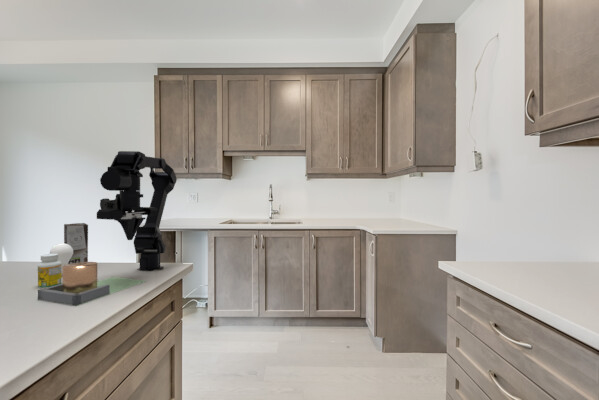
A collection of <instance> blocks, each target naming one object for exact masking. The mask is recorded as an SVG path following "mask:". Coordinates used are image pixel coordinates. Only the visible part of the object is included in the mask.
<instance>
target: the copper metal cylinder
mask: <svg viewBox="0 0 599 400" xmlns="http://www.w3.org/2000/svg"><path fill="white" fill-rule="evenodd" d="M97 281H98V262H96V261H88V262H78V263H72V264H67V265H64V266H63V267H62V292H69V293H75V294H78V293H81V292H84V291H87V290H91V289H94V288H97Z"/></svg>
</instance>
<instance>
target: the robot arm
mask: <svg viewBox="0 0 599 400" xmlns="http://www.w3.org/2000/svg"><path fill="white" fill-rule="evenodd" d="M146 168H149V169H150V172H149V173H148V174H149V175H148V176H149V178H150V179H151V186H152V187H153V194H152V198H151V202H150V205H149V206H141V198H144V194H143V193H141V178H143V177H144V176H143V173H142V172H141V171H140V170H143V169H146ZM154 169H157V170H158V169H159V170H162V171H155V170H154ZM99 181H100V185H101V187H102V188H103V189H104V190H107V191H111V192H112V191H114V192H115V191H116V192H117V191H119V193H116V195H115V199H109V198H102V199H100V201H99V207H100V208H99V209H98V210H97V212H96V220H111V221H112V220H113V221H117V222H118V223H119V224H120V225H121V227H122V229H123V232H124V234H125V237H126V240H127V241H132V240H133V247H134V252H135V254H139V255H140V258H139V268H137V269H136V270H137V271H138V270H139V271H146V272H152V271H156V270H157V271H159V270H162V269H164V266H161V254H164V253H165V252H166V245H165V243H164V241H163V239H162V237H163V235H162V232H161V230H160V226H161V222H162V217H163V213H164V209H165V205H166V202H167V198H168V194H170V193H171V192H172V191H173V190H174V188H175V185H176V183H177V175H176V172H175V170H174V168H172V166H170V165H169V164H168V163H167V161H166V159H165V158H163V157H154V156H153V157H151V156H146V154H145V153H144V152H141V151H139V150H138V151H136V150H135V151H133V150H132V151H131V150H130V151H129V150H128V151H126V150H121V151H120V150H119V151H118V152H117V154H116V155H115V157H114V159H113V160H112V163H111V165H110V166H108V167H107V171H104V173H102V174H101V177H100V178H99ZM143 216H146V217H143ZM144 220H145V223H144V225H143V226H141V225H142V223H143V222H144Z"/></svg>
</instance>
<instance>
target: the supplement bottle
mask: <svg viewBox="0 0 599 400" xmlns="http://www.w3.org/2000/svg"><path fill="white" fill-rule="evenodd" d="M58 258H59V257H58V254H50V253H45V254H41V255H40V261H41V262H39V263H38V264H37V288H39V289H44V288H48V287H51V286H55V285H59V284H62V276H61V262H60V261H58V260H57V259H58Z"/></svg>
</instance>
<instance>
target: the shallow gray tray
mask: <svg viewBox="0 0 599 400" xmlns="http://www.w3.org/2000/svg"><path fill="white" fill-rule="evenodd" d="M107 294H109V295H111V294H110V285H103V286H100V287H97V288H94V289H91V290H87V291H84V292H81V293H78V294H75V293H69V292H62V284H59V285H55V286H51V287H48V288H39V289H38V290H37V299H38V300H37V301H43V300H44V301H45V302H49V301H50V302H51V303H55V302H57V304H61V303H63V305H68V304H69V306H74V305H75V307H77V306H76V305H78V306H80V305H79V304H81V305H83V304H82V303H84V304H86V303H85V302H87V303H89V302H88V301H90V302H92V301H94V300H93V299H95V300H97V299H96V298H98V299H100V298H99V297H101V298H103V297H102V296H104V297H106V296H108V295H107ZM105 295H106V296H105ZM91 300H92V301H91Z"/></svg>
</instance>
